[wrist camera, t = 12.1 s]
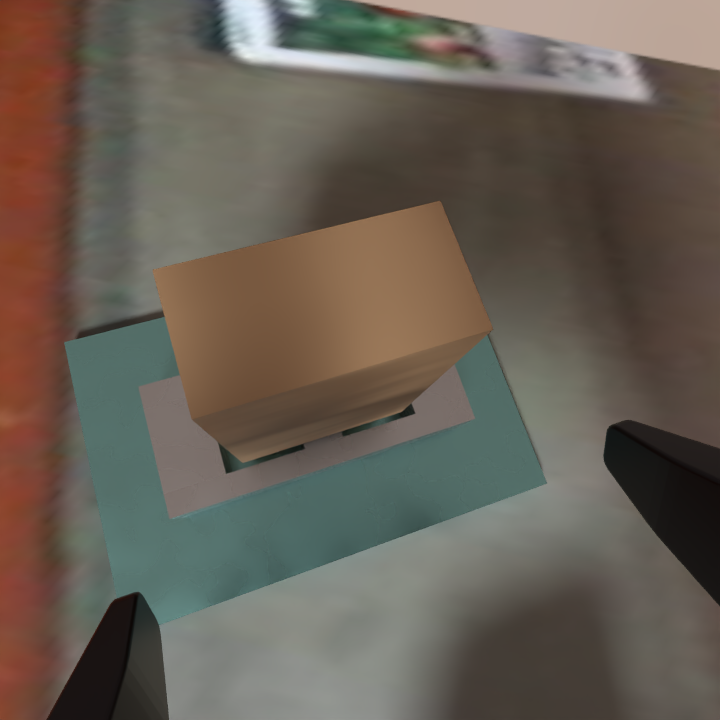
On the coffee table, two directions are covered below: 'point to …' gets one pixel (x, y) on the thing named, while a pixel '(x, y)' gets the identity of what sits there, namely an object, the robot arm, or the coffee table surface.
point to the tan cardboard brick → (320, 328)
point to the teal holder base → (276, 474)
